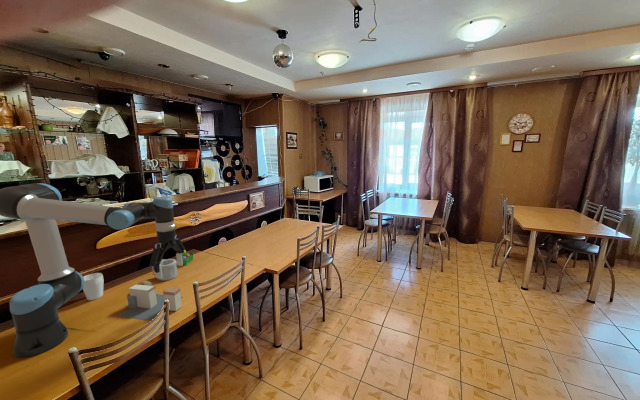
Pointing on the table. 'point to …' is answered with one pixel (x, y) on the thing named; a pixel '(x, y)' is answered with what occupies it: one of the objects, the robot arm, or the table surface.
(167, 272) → the mug
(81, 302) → the table surface
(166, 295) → the brown topped white box
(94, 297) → the cup
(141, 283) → the bread roll
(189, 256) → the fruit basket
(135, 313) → the slate mat
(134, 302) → the cream rectangular block
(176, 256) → the robot arm
